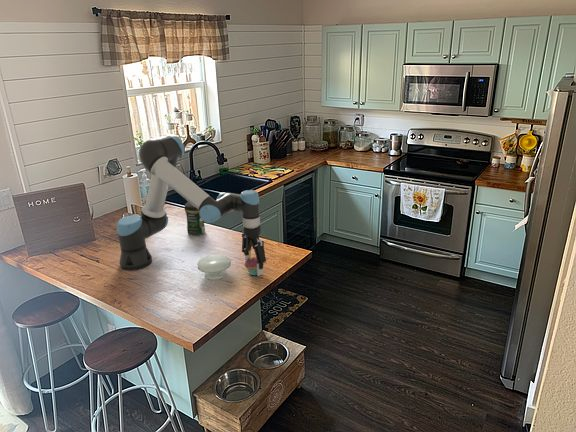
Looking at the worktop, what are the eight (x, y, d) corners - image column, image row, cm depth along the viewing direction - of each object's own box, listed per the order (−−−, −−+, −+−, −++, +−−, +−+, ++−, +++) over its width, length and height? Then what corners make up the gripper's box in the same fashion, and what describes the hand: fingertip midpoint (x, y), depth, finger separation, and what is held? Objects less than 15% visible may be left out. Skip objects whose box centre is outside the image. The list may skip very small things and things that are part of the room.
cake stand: (209, 286, 191) (207, 273, 189) (193, 274, 202) (191, 261, 200) (238, 275, 200) (237, 262, 198) (221, 264, 211) (219, 251, 209)
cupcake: (247, 278, 195) (245, 254, 191) (243, 269, 203) (242, 246, 199) (265, 275, 198) (264, 251, 193) (261, 267, 205) (260, 243, 201)
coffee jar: (185, 234, 246) (181, 203, 239) (193, 229, 253) (189, 199, 246) (200, 236, 242) (196, 205, 236) (207, 231, 249) (204, 200, 242)
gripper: (273, 230, 186) (275, 276, 195) (245, 216, 201) (248, 260, 210) (258, 234, 182) (261, 282, 190) (231, 220, 197) (235, 265, 205)
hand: (254, 271), depth 200 cm, fingers closed on cupcake, 8 cm apart
